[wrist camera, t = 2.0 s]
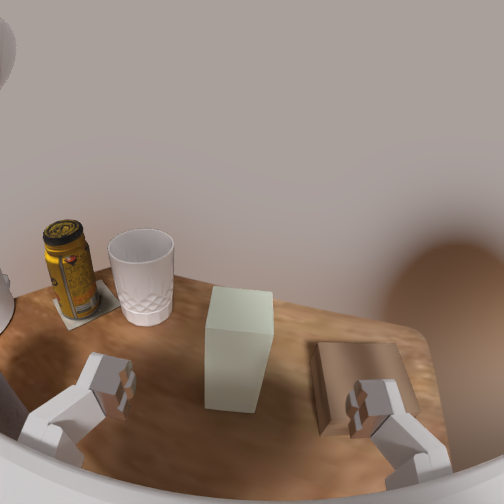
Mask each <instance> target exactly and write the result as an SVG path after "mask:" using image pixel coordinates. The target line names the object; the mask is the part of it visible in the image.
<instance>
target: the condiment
mask: <svg viewBox="0 0 504 504" xmlns="http://www.w3.org/2000/svg"><path fill="white" fill-rule="evenodd" d="M43 239H44V242H45V249H46V251H45V260H46V263H47V267H48V271H49V274H50V278H51V282H52V285H53V289H54V291H55V295H56V298H57V299H54V300H53V302H54V304H55V306H56V308H57V310H58V312H59V314H60V316H61V318H62V319H63V321H64V323H65V325H66V327H67V328H68V330H71V329H73V328H76V327H78V326H81V325H82V324H85V323H87V322H89V321H91V320H93V319H95V318H97V317H99V316H100V315H102V314H105V313H107V312H110V311H112V310H113V309H115V308H117V307H119V306H121V303H120V302H119V300H118V299H117V298H116V297H115V296H114V295H113V294H112V292H111V291H110V290H109V289H108V287H107V286H106V285H105V284H104V282H103V281H102V280H99V281H95V276H94V271H93V266H92V260H91V255H90V249H89V245H88V243H87V242H86V240H85V236H84V233H83V227H82V224H81V223H80V222H78V221H76V220H61V221H57V222H55V223H53V224H51V225H49V226H48V227H47V228H46V229H45V230H44V232H43ZM99 310H100V311H99Z"/></svg>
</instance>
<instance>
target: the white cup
mask: <svg viewBox="0 0 504 504" xmlns="http://www.w3.org/2000/svg"><path fill="white" fill-rule="evenodd" d="M107 249H108V255H109V259H110V264H111V269H112V274H113V278H114V283H115V286H116V290H117V294H118V297H119V300H120V303H121V307H122V311H123V314H124V316H125V317H126V319H127V320H128V321H129V322H131V323H133V324H135V325H137V326H153V325H157V324H160V323H162V322H163V321H165V320H166V319H167V318H168V317H169V315H170V314H171V312H172V294H173V280H174V240H173V238H172V237H171V236H170V235H169V234H167V233H165V232H163V231H160V230H157V229H150V228H140V229H132V230H128V231H125V232H122V233H120V234H118V235H117V236H115V237H114V238H113V239H112V240H111V241H110V242H109V244H108V248H107Z"/></svg>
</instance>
